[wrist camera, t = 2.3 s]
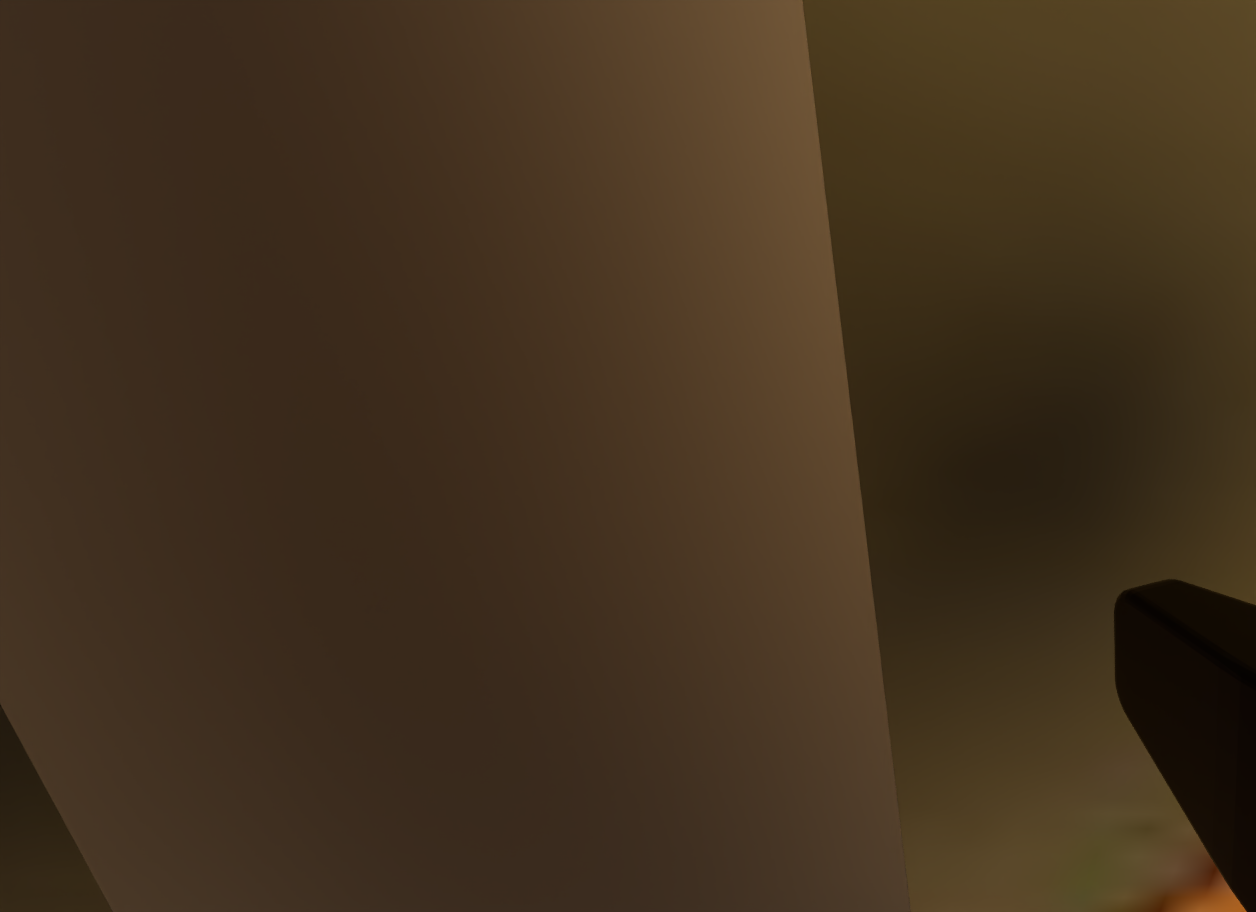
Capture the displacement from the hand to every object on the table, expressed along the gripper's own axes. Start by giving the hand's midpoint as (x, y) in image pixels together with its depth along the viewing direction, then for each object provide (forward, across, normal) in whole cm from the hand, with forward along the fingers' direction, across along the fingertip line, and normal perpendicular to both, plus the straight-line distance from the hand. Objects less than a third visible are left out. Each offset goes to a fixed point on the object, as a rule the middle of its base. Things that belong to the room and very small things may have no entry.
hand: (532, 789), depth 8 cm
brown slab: (+4, 0, 0) cm, 4 cm away
